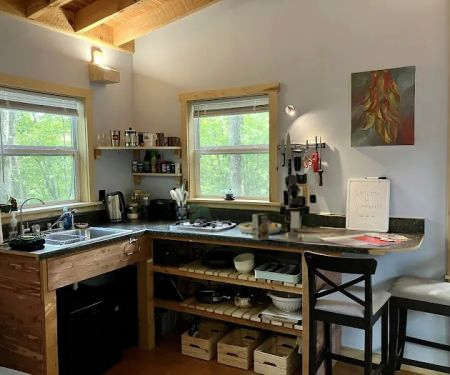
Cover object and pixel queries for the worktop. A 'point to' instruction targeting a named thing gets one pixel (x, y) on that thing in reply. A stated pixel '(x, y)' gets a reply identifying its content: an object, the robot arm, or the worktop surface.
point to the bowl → (248, 227)
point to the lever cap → (294, 219)
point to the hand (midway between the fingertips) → (295, 220)
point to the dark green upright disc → (198, 213)
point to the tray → (311, 238)
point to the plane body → (292, 236)
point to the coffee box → (260, 226)
